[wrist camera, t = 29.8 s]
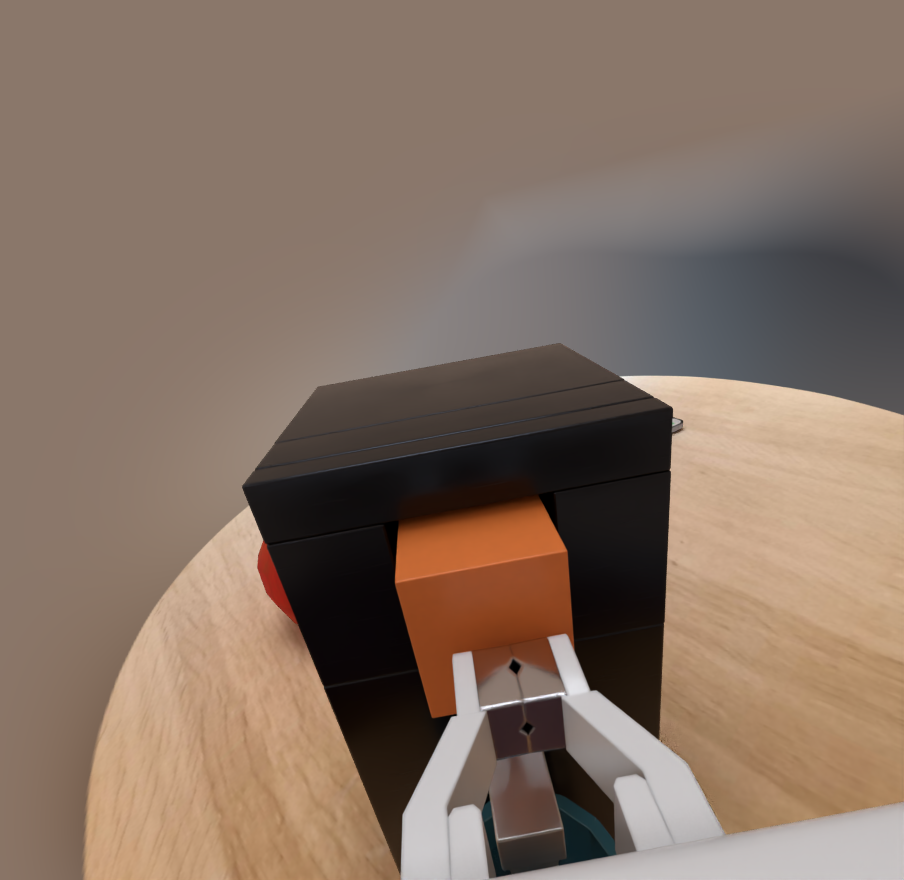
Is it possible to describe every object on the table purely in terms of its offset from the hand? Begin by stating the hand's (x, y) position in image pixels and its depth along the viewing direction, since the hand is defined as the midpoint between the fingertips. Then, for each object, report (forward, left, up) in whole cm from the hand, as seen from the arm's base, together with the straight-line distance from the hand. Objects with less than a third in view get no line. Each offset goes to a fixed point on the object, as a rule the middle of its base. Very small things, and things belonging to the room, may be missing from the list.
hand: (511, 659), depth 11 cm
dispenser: (+5, -2, -19) cm, 20 cm away
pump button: (+2, -1, -3) cm, 3 cm away
